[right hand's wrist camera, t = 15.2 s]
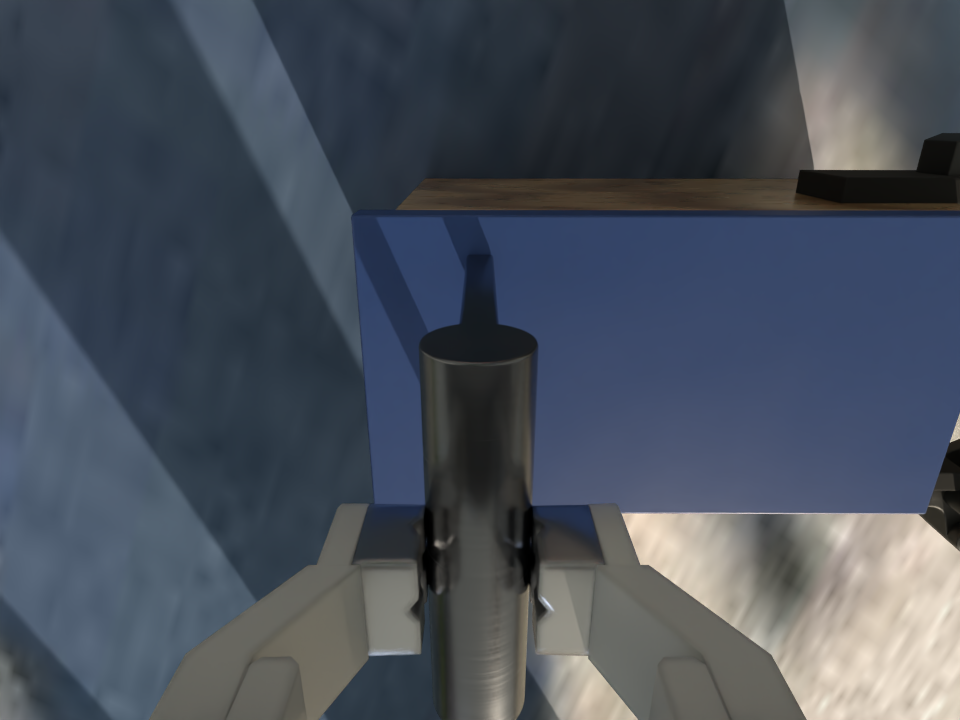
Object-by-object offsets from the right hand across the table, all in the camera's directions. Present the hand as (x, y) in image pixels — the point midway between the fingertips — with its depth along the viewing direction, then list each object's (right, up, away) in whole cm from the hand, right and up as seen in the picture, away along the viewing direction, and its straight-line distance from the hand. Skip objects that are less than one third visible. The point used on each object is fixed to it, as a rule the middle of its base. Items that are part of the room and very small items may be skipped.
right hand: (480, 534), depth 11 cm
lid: (+5, +3, +7) cm, 9 cm away
